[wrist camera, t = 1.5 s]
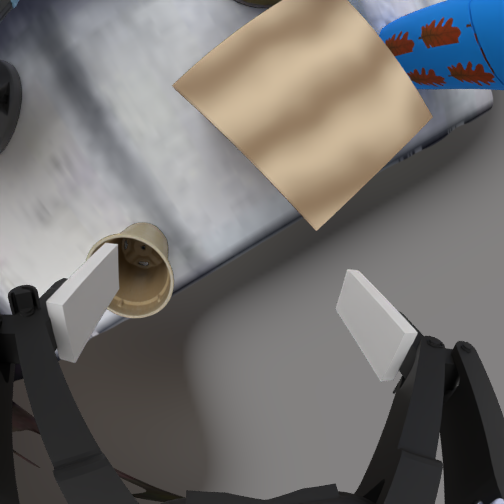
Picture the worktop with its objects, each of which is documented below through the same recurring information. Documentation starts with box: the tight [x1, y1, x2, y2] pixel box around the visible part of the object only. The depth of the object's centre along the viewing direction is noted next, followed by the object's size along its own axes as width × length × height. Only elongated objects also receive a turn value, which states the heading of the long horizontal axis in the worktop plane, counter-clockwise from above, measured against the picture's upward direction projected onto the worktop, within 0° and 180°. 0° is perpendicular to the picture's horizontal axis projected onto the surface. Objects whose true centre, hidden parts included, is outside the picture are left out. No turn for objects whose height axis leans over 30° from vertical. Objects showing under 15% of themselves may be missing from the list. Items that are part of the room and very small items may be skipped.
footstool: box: [172, 0, 432, 231], centre depth 24 cm, size 16×16×12 cm
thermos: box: [379, 0, 504, 90], centre depth 17 cm, size 11×11×25 cm
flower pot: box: [86, 223, 174, 318], centre depth 30 cm, size 9×9×9 cm
